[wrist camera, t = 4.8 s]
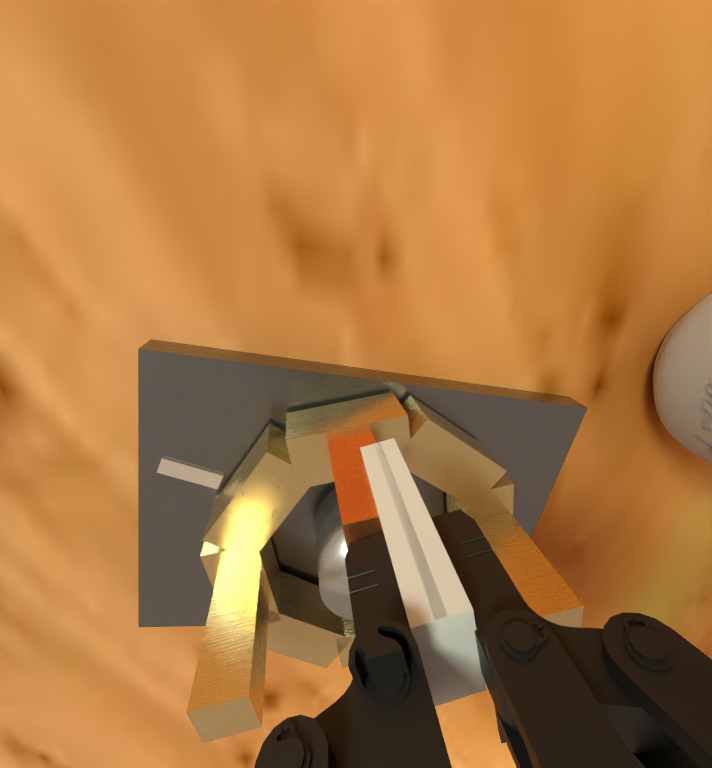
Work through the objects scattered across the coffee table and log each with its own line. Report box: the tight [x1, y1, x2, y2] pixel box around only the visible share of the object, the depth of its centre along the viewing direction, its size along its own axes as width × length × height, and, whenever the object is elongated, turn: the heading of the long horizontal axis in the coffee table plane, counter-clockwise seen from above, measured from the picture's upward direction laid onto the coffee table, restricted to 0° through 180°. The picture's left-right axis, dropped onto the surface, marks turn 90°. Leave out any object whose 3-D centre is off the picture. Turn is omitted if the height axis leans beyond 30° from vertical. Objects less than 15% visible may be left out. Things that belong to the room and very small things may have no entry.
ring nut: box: [187, 392, 584, 743], centre depth 17 cm, size 14×14×8 cm
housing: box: [138, 340, 587, 627], centre depth 19 cm, size 16×22×6 cm
